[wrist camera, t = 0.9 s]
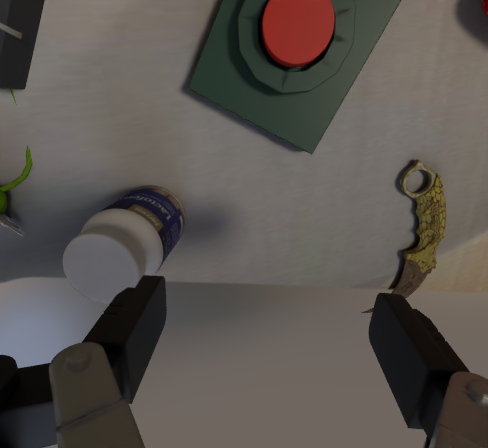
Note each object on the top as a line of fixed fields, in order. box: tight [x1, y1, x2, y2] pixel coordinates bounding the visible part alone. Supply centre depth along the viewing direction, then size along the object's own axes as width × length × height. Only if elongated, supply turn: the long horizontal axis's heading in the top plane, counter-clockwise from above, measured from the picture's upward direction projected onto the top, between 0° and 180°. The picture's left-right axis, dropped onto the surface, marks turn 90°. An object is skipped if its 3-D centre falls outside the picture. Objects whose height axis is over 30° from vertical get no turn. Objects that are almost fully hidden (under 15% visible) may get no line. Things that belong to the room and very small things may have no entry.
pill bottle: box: [63, 186, 186, 303], centre depth 23 cm, size 6×6×10 cm
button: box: [262, 0, 335, 67], centre depth 18 cm, size 4×4×2 cm
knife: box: [363, 159, 446, 313], centre depth 27 cm, size 14×1×5 cm
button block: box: [188, 0, 401, 154], centre depth 21 cm, size 12×10×4 cm
